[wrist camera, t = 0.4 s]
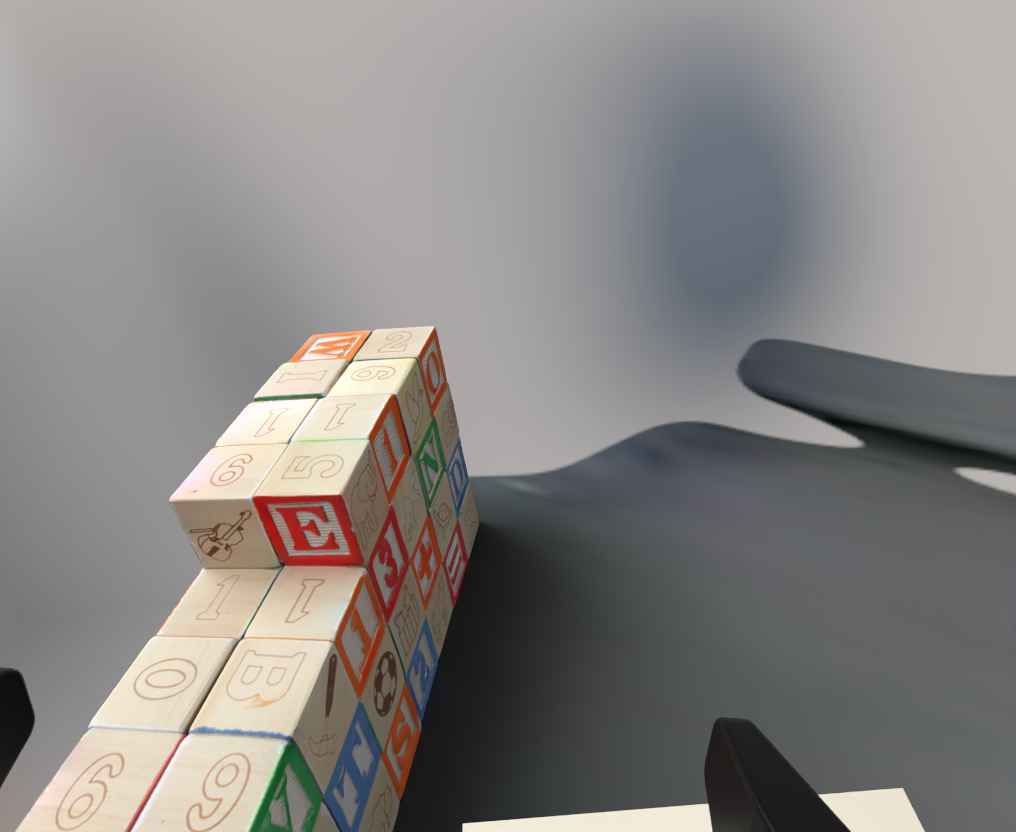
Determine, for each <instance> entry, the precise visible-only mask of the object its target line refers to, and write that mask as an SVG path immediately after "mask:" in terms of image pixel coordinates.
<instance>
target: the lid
mask: <svg viewBox="0 0 1016 832" xmlns="http://www.w3.org/2000/svg"><path fill="white" fill-rule="evenodd" d="M819 797H820V798H821V799H822V800H823V801H824V802H825V803H826V804H827V805H828V806H829V808H830V809H831V810H832V811H833V812H834V813H835V814H836V815H837V816H838V818H839V819H840V820H841V821H842V822H843V823H844V824H845V825H846V826H847V828H848V829H849V830H850V831H851V832H924V830H923V828H922V826H921V824H920V822H919V820H918V818H917V816H916V814H915V812H914V810H913V808H912V806H911V804H910V802H909V800H908V798H907V796H906V794H905V792H904V790H903V788H897V789H884V790H872V791H860V792H847V793H835V794H823V795H819ZM462 832H712V825H711V818H710V812H709V805H708V804H699V805H687V806H674V807H662V808H650V809H637V810H625V811H613V812H600V813H588V814H576V815H563V816H551V817H538V818H526V819H514V820H501V821H489V822H477V823H464V824H463V831H462Z"/></svg>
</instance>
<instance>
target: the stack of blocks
mask: <svg viewBox="0 0 1016 832" xmlns="http://www.w3.org/2000/svg"><path fill="white" fill-rule="evenodd" d="M254 399H255V402H254V403H251V404H249V405H247V407H246V408H245V409H244V410H243V411H242V412H241V413H240V415H239V416H238V417H237V419H236V420H235V421H234V422H233V423H232V424H231V425H230V427H229V428H228V429H227V430H226V432H225V433H224V434H223V435H222V436H221V437H220V439H218V441H217V443H216V447H215V448H213V449H211V450H210V451H209V453H208V454H207V455H206V456H205V457H204V458H203V460H202V461H201V462H200V463H199V464H198V466H197V467H196V468H195V469H194V470H193V471H192V473H191V474H190V475H189V476H188V477H187V479H186V480H185V481H184V482H183V483H182V484H181V486H180V487H179V488H178V489H177V490H176V492H175V493H174V494H173V495H172V496H171V498H170V500H169V503H170V504H171V506H172V508H173V509H174V512H175V513H176V515H177V517H178V519H179V522H180V523H181V525H182V527H183V529H184V531H185V533H186V535H187V537H188V539H189V541H190V543H191V545H192V546H193V549H194V551H195V553H196V554H197V557H198V559H199V560H200V563H201V564H202V566H203V568H202V570H201V572H200V573H199V574H198V575H197V577H196V578H195V580H194V581H193V582H192V584H191V585H190V587H189V588H188V590H187V591H186V592H185V594H184V595H183V597H182V598H181V600H180V601H179V603H178V604H177V606H176V607H175V608H174V610H173V611H172V612H171V614H170V615H169V617H168V618H167V619H166V621H165V622H164V624H163V625H162V626H161V628H160V629H159V631H158V633H157V634H156V636H155V637H153V638H152V639H150V641H149V642H148V643H147V644H146V646H145V647H144V649H143V650H142V651H141V653H140V654H139V656H138V657H137V658H136V660H135V661H134V663H133V664H132V665H131V667H130V668H129V669H128V671H127V672H126V674H125V675H124V676H123V678H122V679H121V681H120V682H119V683H118V685H117V686H116V688H115V689H114V690H113V692H112V693H111V695H110V696H109V697H108V699H107V700H106V701H105V703H104V704H103V705H102V707H101V708H100V710H99V711H98V712H97V714H96V715H95V717H94V718H93V719H92V721H91V723H90V725H89V727H88V728H89V731H88V732H87V733H86V734H85V735H84V736H83V737H82V738H81V740H80V741H79V743H78V744H77V746H76V747H75V748H74V750H73V751H72V752H71V754H70V755H69V756H68V758H67V759H66V761H65V762H64V763H63V765H62V766H61V768H60V769H59V771H58V772H57V774H56V775H55V777H54V778H53V779H52V780H51V782H50V783H49V784H48V785H47V787H46V788H45V789H44V791H43V792H42V793H41V794H40V796H39V798H38V799H37V801H36V803H35V804H34V806H33V807H32V809H31V810H30V811H29V813H28V814H27V815H26V817H25V818H24V819H23V821H22V822H21V824H20V825H19V826H18V828H17V829H16V831H15V832H392V831H393V828H394V824H395V821H396V817H397V813H398V809H399V801H400V799H401V798H402V795H403V792H404V789H405V786H406V782H407V779H408V775H409V771H410V768H411V764H412V761H413V758H414V754H415V751H416V747H417V743H418V739H419V736H420V733H421V722H422V719H423V716H424V712H425V708H426V704H427V701H428V697H429V694H430V690H431V687H432V683H433V680H434V676H435V673H436V669H437V666H438V659H439V656H440V653H441V650H442V646H443V643H444V639H445V635H446V632H447V628H448V625H449V621H450V617H451V614H452V609H453V607H455V605H456V601H457V598H458V595H459V591H460V587H461V584H462V580H463V577H464V573H465V570H466V566H467V563H468V559H469V557H470V554H471V550H472V547H473V543H474V540H475V536H476V533H477V529H478V526H479V518H478V514H477V510H476V506H475V502H474V497H473V492H472V487H471V483H470V481H469V479H468V474H467V469H466V465H465V461H464V457H463V452H462V447H461V441H460V438H459V428H458V424H457V419H456V414H455V410H454V404H453V400H452V396H451V392H450V388H449V384H448V382H447V379H446V373H445V369H444V363H443V359H442V355H441V351H440V345H439V340H438V336H437V332H436V329H435V327H434V326H428V327H411V328H396V329H377V330H375V331H374V332H373V333H372V332H371V331H357V332H342V333H332V334H320V335H313V336H311V337H310V338H309V340H308V341H307V342H306V343H305V344H304V345H303V346H302V348H301V349H300V350H299V351H298V352H297V353H296V354H295V355H294V357H293V358H292V359H291V360H290V361H289V362H288V363H285V364H283V365H281V366H280V367H279V368H278V370H277V371H276V372H275V373H274V374H273V375H272V377H271V378H270V379H269V380H268V381H267V382H266V383H265V385H264V386H263V387H262V388H261V389H260V390H259V392H258V393H257V394H256V395H255V397H254Z"/></svg>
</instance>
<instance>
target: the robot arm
mask: <svg viewBox="0 0 1016 832" xmlns="http://www.w3.org/2000/svg"><path fill="white" fill-rule="evenodd" d="M34 722H35V713H34V710H33V706H32V703H31V700H30V697H29V693H28V690H27V687H26V684H25V681H24V677H23V675H22V674H21V673H20V672H19V671H18V670H17V669H13V668H0V788H1V786H2V784H3V782H4V781H5V779H6V777H7V776H8V774H9V772H10V770H11V769H12V767H13V765H14V763H15V762H16V759H17V758H18V756H19V755H20V753H21V751H22V749H23V748H24V746H25V744H26V742H27V741H28V739H29V737H30V735H31V732H32V730H33V727H34ZM705 785H706V792H707V799H708V805H709V812H710V818H711V825H712V832H851V831H850V830H849V829H848V828H847V826H846V825H845V824H844V823H843V822H842V821H841V820H840V819H839V818H838V816H837V815H836V814H835V813H834V812H833V811H832V810H831V809H830V808H829V806H828V805H827V804H826V803H825V802H824V801H823V800H822V799H821V798H820V797H819V795H818V794H817V793H816V792H815V791H814V790H813V789H812V788H811V787H810V785H809V784H808V783H807V782H806V781H805V780H804V779H803V778H802V777H801V775H800V774H799V773H798V772H797V771H796V770H795V769H794V768H793V767H792V766H791V764H790V763H789V762H788V761H787V760H786V759H785V758H784V757H783V756H782V754H781V753H780V752H779V751H778V750H777V749H776V748H775V747H774V746H773V745H772V743H771V742H770V741H769V740H768V739H767V738H766V737H765V736H764V735H763V733H762V732H761V731H760V730H759V729H758V728H757V727H756V726H755V725H754V724H753V723H752V722H751V721H749V720H747V719H738V718H724V717H721V718H718V719H717V720H716V721H715V723H714V726H713V730H712V734H711V738H710V743H709V747H708V752H707V756H706V761H705Z"/></svg>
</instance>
